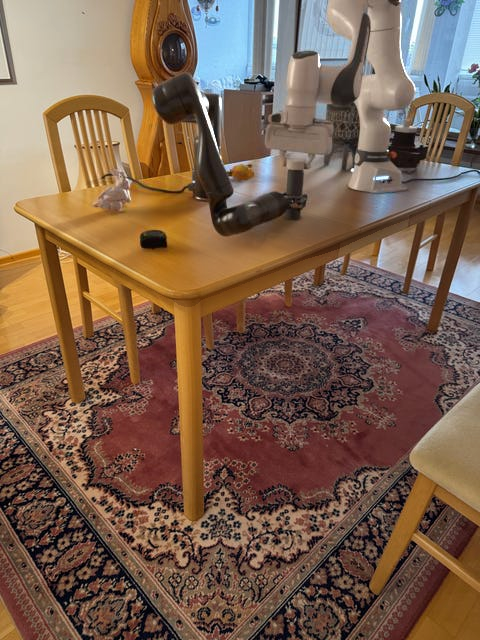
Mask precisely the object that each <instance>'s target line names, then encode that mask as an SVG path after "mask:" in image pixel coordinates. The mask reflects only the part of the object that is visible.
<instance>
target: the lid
mask: <svg viewBox="0 0 480 640" xmlns="http://www.w3.org/2000/svg"><path fill="white" fill-rule="evenodd" d="M306 162H308V159H306V158H303V157H288V158H287V164H286V169H287V170H289V169H291V170H303V171H305V169H304V163H306Z"/></svg>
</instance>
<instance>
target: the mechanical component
mask: <svg viewBox="0 0 480 640" xmlns="http://www.w3.org/2000/svg"><path fill="white" fill-rule="evenodd" d="M411 122H412V121H411V119H403V125H401V124H400V125H395V126H394V132H393V136H392V142H389V145H388V151H390V152H395V154H397V156H396V157H395V158H392V157H390V161H391V162H392V163H393V164H394V165H395V166H396V167H397V168H398V169H399V170H400V171H401V172H407V173H408V174H412V171H415V170H416V169H417V168H419V167H420V166H421V161H423V160H426V159H427V157H428V156H427V155H428V153H429V146H430V145H427V144H424V143H423V142H419V141H416V135H417V132H418V127H417V126H414V125H411Z"/></svg>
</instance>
